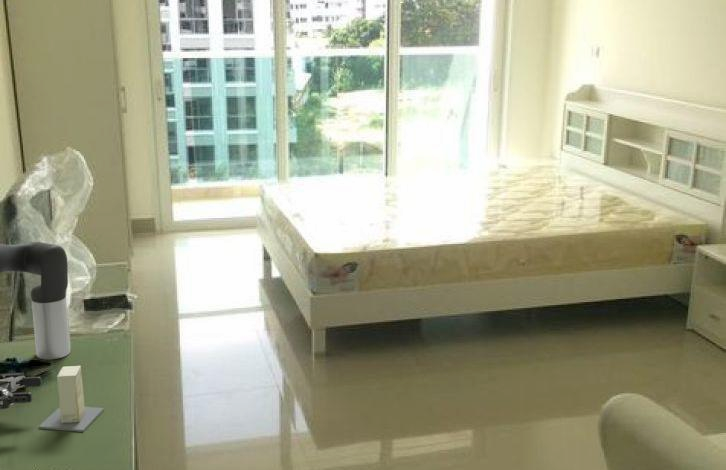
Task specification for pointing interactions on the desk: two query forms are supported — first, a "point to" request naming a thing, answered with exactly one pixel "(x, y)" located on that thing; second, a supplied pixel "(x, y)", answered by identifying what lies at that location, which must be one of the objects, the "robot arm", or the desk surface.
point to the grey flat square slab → (81, 426)
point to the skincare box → (70, 394)
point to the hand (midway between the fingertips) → (36, 389)
